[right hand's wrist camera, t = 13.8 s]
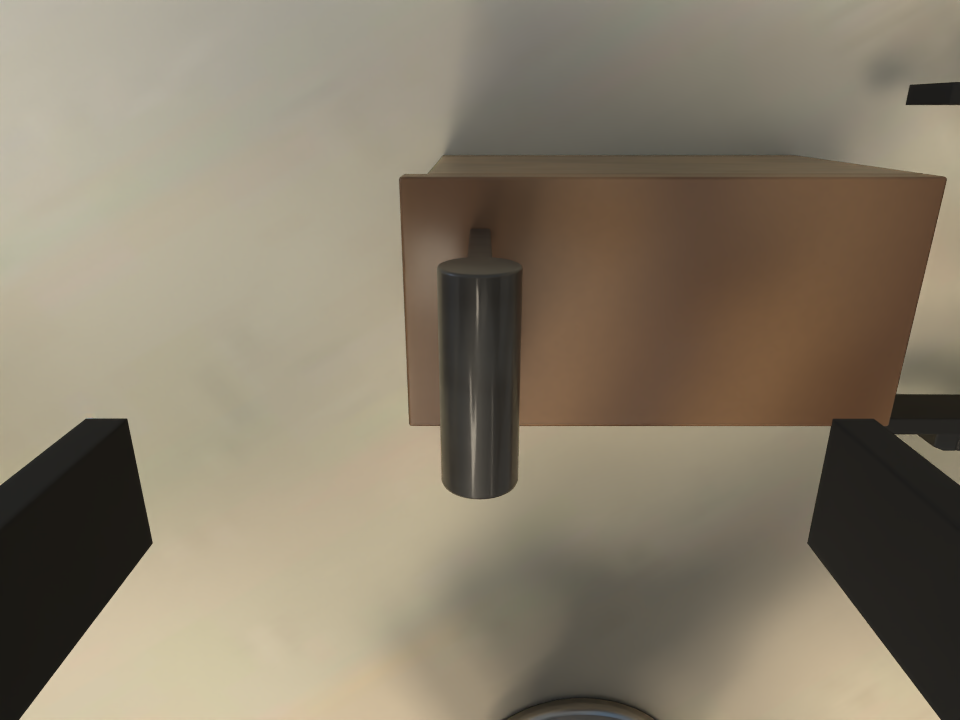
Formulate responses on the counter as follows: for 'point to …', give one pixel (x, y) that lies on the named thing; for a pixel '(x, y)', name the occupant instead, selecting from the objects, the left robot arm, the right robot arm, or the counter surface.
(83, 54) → the counter surface
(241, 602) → the counter surface
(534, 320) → the brown handled panel
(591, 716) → the left robot arm
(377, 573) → the counter surface
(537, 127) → the counter surface
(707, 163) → the chest
